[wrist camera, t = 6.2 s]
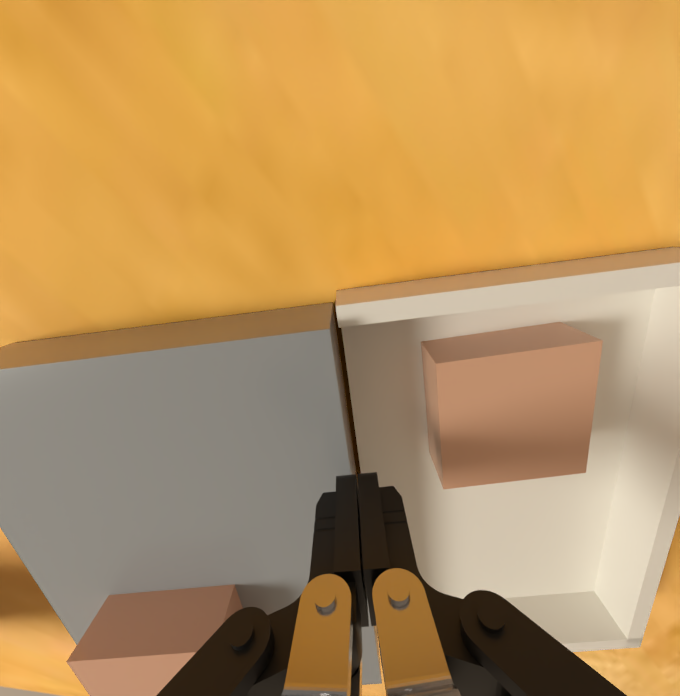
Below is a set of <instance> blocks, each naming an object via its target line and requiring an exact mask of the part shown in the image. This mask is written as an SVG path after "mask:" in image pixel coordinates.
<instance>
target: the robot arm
mask: <svg viewBox="0 0 680 696" xmlns="http://www.w3.org/2000/svg"><path fill="white" fill-rule="evenodd" d="M357 476H358V485H357V478H356V474H352V475H342V476H336V492H325V493H323V494H322V495H321V497H320V499H319V501H318V502H317V504H316V512H315V523H314V534H313V544H312V555H311V565H310V575H309V580H308V583H307V585H306V587H305V588H304V590H303V592H302V594H301V595H300V596H299V598H298V599H297V600H295V601H294V602H293V603H292V604H290V605H288V606H286V607H284V608H282V609H280V610H278V611H276V612H273V613H271V614H269V615H267V614H266V613H265V612H264V611H263V610H262V609H260V608H257V607H246V608H243V609H240V610H238V611H236V612H235V613H234V614H232V615H231V616H230V617H229V618H228V619H227V620H226V621H225V622H224V623H223V624H222V625H221V626H220V627H219V628H218V629H217V631H216V632H215V633H214V634H213V635H212V636H211V637H210V638H209V639H208V640H207V641H206V642H205V644H204V645H203V646H202V647H201V648H200V649H199V650H198V651H197V652H196V653H195V654H194V655H193V656H192V658H191V659H190V660H189V661H188V662H187V663H186V664H185V665H184V666H183V667H182V668H181V669H180V671H179V672H178V673H177V674H176V675H175V676H174V677H173V678H172V679H171V680H170V681H169V682H168V683H167V685H166V686H165V687H164V688H163V689H162V690H161V691H160V692H159V693H158V694H157V695H156V696H362V628H361V627H369V618H368V606H369V613H370V620H371V626H377V633H378V640H379V648H380V655H381V663H382V669H383V676H384V682H385V689H386V696H627V695H625V694H624V693H623V692H622V691H620V690H619V689H618V688H616V687H615V686H614V685H613V684H611V683H610V682H609V681H608V680H606V679H605V678H604V677H603V676H601V675H600V674H599V673H598V672H596V671H595V670H594V669H593V668H591V667H590V666H589V665H588V664H586V663H585V662H584V661H583V660H581V659H580V658H579V657H577V656H576V655H575V654H574V653H572V652H571V651H570V650H569V649H567V648H566V647H565V646H564V645H562V644H561V643H560V642H559V641H557V640H556V639H555V638H554V637H552V636H551V635H550V634H549V633H547V632H546V631H545V630H544V629H542V628H541V627H540V626H538V625H537V624H536V623H535V622H533V621H532V620H531V619H530V618H528V617H527V616H526V615H525V614H523V613H522V612H521V611H520V610H518V609H517V608H516V607H515V606H513V605H512V604H511V603H510V602H508V601H507V600H506V599H504V598H503V597H502V596H500V595H498V594H496V593H494V592H491V591H487V590H476V591H473V592H471V593H469V594H467V595H466V596H465V597H464V599H461V598H458V597H454V596H450V595H447V594H444V593H441V592H439V591H437V590H435V589H434V588H432V587H431V586H430V585H428V584H427V583H426V581H425V580H424V579H423V578H422V576H421V575H420V573H419V570H418V567H417V563H416V559H415V554H414V550H413V545H412V541H411V536H410V532H409V527H408V523H407V518H406V513H405V509H404V504H403V500H402V496H401V495H400V494H399V492H398V491H397V490H396V489H395V487H394V486H387V487H379V483H378V476H377V472H372V473H361V474H357ZM367 599H368V603H367Z"/></svg>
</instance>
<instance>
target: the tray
mask: <svg viewBox="0 0 680 696" xmlns="http://www.w3.org/2000/svg"><path fill="white" fill-rule="evenodd" d="M336 313H337V321H338V328H341V329H342V336H343V344H344V351H345V359H346V366H347V374H348V381H349V388H350V396H351V403H352V411H353V418H354V426H355V433H356V441H357V448H358V455H359V463H360V470H361V473H372V472H377V476H378V483H379V487H387V486H394V487H395V489H396V490H397V491H398V492H399V494H400V495H401V496H402V500H403V504H404V509H405V513H406V518H407V523H408V527H409V532H410V536H411V541H412V545H413V550H414V554H415V559H416V563H417V567H418V570H419V573H420V575H421V576H422V578H423V579H424V580H425V581H426V583H427V584H428V585H430V586H431V587H432V588H434V589H435V590H437V591H439V592H441V593H444V594H447V595H450V596H454V597H458V598H461V599H464V597H465V596H466V595H467V594H469V593H471V592H473V591H476V590H487V591H491V592H494V593H496V594H498V595H500V596H502V597H503V598H504V599H506V600H507V601H508V602H510V603H511V604H512V605H513V606H515V607H516V608H517V609H518V610H520V611H521V612H522V613H523V614H525V615H526V616H527V617H528V618H530V619H531V620H532V621H533V622H535V623H536V624H537V625H538V626H540V627H541V628H542V629H544V630H545V631H546V632H547V633H549V634H550V635H551V636H552V637H554V638H555V639H556V640H557V641H559V642H560V643H561V644H562V645H564V646H565V647H566V648H567V649H569V650H570V651H571V652H580V651H594V650H608V649H622V648H637V647H640V646H641V642H642V639H643V636H644V632H645V629H646V626H647V622H648V619H649V616H650V612H651V609H652V606H653V602H654V599H655V596H656V592H657V589H658V586H659V582H660V579H661V576H662V572H663V569H664V566H665V562H666V559H667V555H668V552H669V549H670V545H671V542H672V539H673V535H674V532H675V529H676V525H677V522H678V519H679V515H680V247H668V248H661V249H653V250H645V251H637V252H630V253H622V254H614V255H607V256H599V257H591V258H583V259H576V260H568V261H560V262H552V263H545V264H537V265H529V266H521V267H514V268H506V269H498V270H490V271H483V272H475V273H467V274H459V275H452V276H444V277H436V278H428V279H421V280H413V281H405V282H397V283H390V284H382V285H374V286H366V287H359V288H351V289H343V290H337V294H336ZM554 322H562V323H564V324H566V325H569V326H571V327H573V328H575V329H578V330H580V331H582V332H585V333H587V334H589V335H591V336H594V337H596V338H598V339H600V340H603V343H602V351H601V359H600V367H599V375H598V383H597V390H596V398H595V406H594V414H593V422H592V429H591V437H590V445H589V453H588V461H587V469H586V473H580V474H572V475H563V476H555V477H546V478H537V479H529V480H520V481H512V482H503V483H495V484H486V485H477V486H469V487H460V488H452V489H443V487H442V484H441V482H440V479H439V477H438V474H437V471H436V469H435V466H434V464H433V461H432V458H431V456H430V453H429V444H428V430H427V417H426V404H425V391H424V377H423V364H422V351H421V342H422V341H429V340H436V339H443V338H450V337H457V336H464V335H471V334H478V333H485V332H492V331H499V330H506V329H513V328H519V327H526V326H533V325H540V324H547V323H554Z"/></svg>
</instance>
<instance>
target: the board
mask: <svg viewBox="0 0 680 696" xmlns="http://www.w3.org/2000/svg"><path fill="white" fill-rule="evenodd" d="M352 474H356V478H357V473H356V465H355V458H354V451H353V444H352V437H351V430H350V423H349V415H348V408H347V401H346V394H345V387H344V380H343V373H342V365H341V358H340V351H339V344H338V337H337V330H336V322H335V315H334V308H333V302H331V303H323V304H315V305H307V306H300V307H292V308H284V309H276V310H268V311H260V312H252V313H245V314H237V315H229V316H221V317H213V318H205V319H197V320H190V321H182V322H174V323H166V324H158V325H150V326H143V327H135V328H127V329H119V330H111V331H103V332H95V333H88V334H80V335H72V336H64V337H56V338H48V339H40V340H33V341H25V342H17V343H11V344H8V345H6V346H3V347H0V528H1V529H2V531H3V532H4V534H5V536H6V537H7V539H8V540H9V542H10V543H11V545H12V546H13V548H14V549H15V551H16V552H17V554H18V555H19V557H20V558H21V560H22V562H23V563H24V565H25V566H26V568H27V569H28V571H29V572H30V574H31V575H32V577H33V578H34V580H35V581H36V583H37V585H38V586H39V588H40V589H41V591H42V592H43V594H44V595H45V597H46V598H47V600H48V601H49V603H50V604H51V606H52V607H53V609H54V611H55V612H56V614H57V615H58V617H59V618H60V620H61V621H62V623H63V624H64V626H65V627H66V629H67V630H68V632H69V634H70V635H71V637H72V638H73V640H74V641H75V643H76V644H77V645H78V643H79V641H80V640H81V638H82V637H83V635H84V634H85V632H86V630H87V629H88V627H89V626H90V624H91V622H92V621H93V619H94V618H95V616H96V615H97V613H98V611H99V610H100V608H101V607H102V605H103V603H104V602H105V600H106V599H107V597H108V596H109V595H116V594H128V593H139V592H151V591H163V590H175V589H186V588H198V587H210V586H222V585H233V584H235V587H236V590H237V593H238V596H239V598H240V601H241V604H242V607H243V608H246V607H257V608H260V609H262V610H263V611H264V612H265V613H266V614H267V615H269V614H271V613H273V612H276V611H278V610H280V609H282V608H284V607H286V606H288V605H290V604H292V603H293V602H294V601H295V600H297V599H298V598H299V596H300V595H301V594H302V592H303V590H304V588H305V587H306V585H307V583H308V580H309V575H310V565H311V555H312V544H313V534H314V523H315V512H316V504H317V502H318V501H319V499H320V497H321V495H322V494H323V493H325V492H336V476H342V475H352ZM357 485H358V480H357ZM367 603H368V599H367ZM368 618H369V627H361V628H362V685H365V684H380V683H382V681H381V669H380V658H379V646H378V635H377V626H371V620H370V613H369V606H368Z"/></svg>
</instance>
